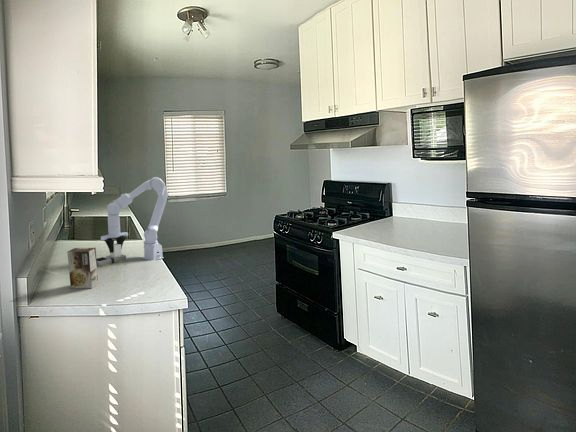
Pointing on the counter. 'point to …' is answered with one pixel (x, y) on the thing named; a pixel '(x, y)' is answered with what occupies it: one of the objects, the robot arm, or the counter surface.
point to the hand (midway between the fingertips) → (115, 251)
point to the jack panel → (109, 260)
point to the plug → (116, 251)
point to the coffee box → (82, 267)
